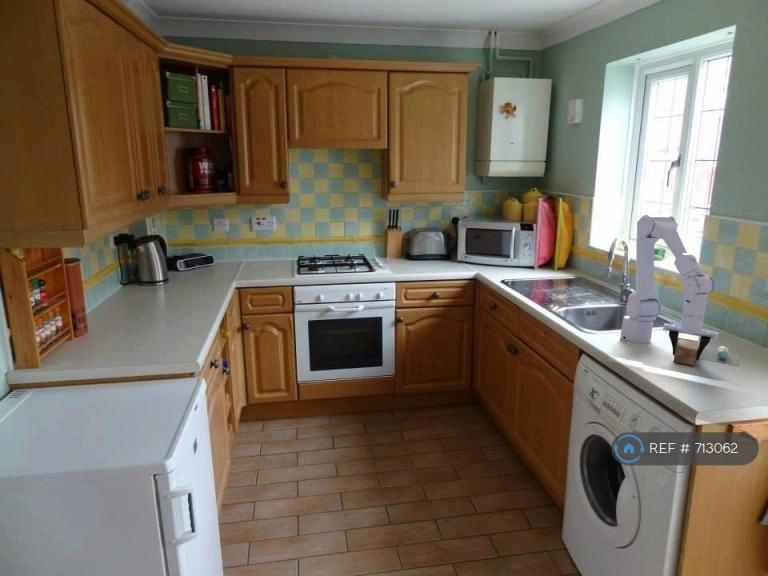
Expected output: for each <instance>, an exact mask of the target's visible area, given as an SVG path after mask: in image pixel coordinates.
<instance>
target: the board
mask: <svg viewBox="0 0 768 576" xmlns="http://www.w3.org/2000/svg"><path fill="white" fill-rule="evenodd" d="M717 352H718V349H717V350H715V349H712V348H711V349H710V348H706V347H705V348H704V350H703V351H702V353H701V355H700V357H699V360H705V361H709V362H715V363H719V364H724V365H730V366H733V367H740V354H739V353H733V352H729V353H728V357H727V358H726V359H720V358H719V357H718V356H717Z"/></svg>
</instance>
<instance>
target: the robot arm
mask: <svg viewBox="0 0 768 576" xmlns="http://www.w3.org/2000/svg"><path fill="white" fill-rule="evenodd" d="M659 240H662V241H664V243H665V244H666V246H667V248H668V249H669V251H670V252H671V253H672V254H673V255H672V256H673V257H674V266H675V268H676V270H677V271H678V273H679V275H680V277H681V278H682V280H683V282H682V285H681V287H682V291H683V299H684V302H683V308H682V315H681V318H680V319H681V320H680V324H676V323H675V324H674V323H667V322H665V323H664V324H663V326H662V327H663V328H662V331H664V332H667V331H668V338H669V340H670V343H671V347H672V356H674V355H675V349H676V345H677V341H678V336H679V333H684V334H690V335H695V336H699V337H700V338H699V343H700V344H699V350H698V353H697V357H696V361H700V359H699V357H700V355H701V353H702V351H703V350H704V348H706V347H707V346H708V345H709V344H710V342H711V339H712V340H715V341H718V339H719V338H718V337H719V331H715V330H714V331H713V330H709V329H706V328H703V324H704V319H705V313H706V307H707V301H708V297H709V295H710V294H711V293H712V292H714V289H715V280H714V278H713V277H712V275H710V274H707V272H704V271H703V270H702V267H701V265H700V264H699V262H698V261H697V257H696V256H694V255H693V254H691V253H688V252H687V249H686V248H685V245H684V243H683V241H682V239H681V236H680V234H679V232H678V223H677V221H676V219H675V217H674V216H673V215H671V214H662V215H661V214H653V215H652V214H651V215H650V214H644V215H642V216H641V217H640V218H639V219H638V221H637V222H636V245H635V246H636V247H635V248H636V253H635V255H636V256H635V258H636V259H635V262H636V263H635V290H634V291H633V292H632V293H630V294H629V295H628V298H627V299H628V300H627V303H626V306H625V307H626V313H627V315H624V316H623V319H622V323H621V330H620V336H619V337H620V339H621V340H626V341H630V342H634V343H639V344H650V343H651V340H652V334H653V328H654V323H655V320H657V317H659V316H660V315H661V312H662V305H661V301H660V295H659V294H658V293H657V292H656V291H655V290H654V288H655V287H654V284H655V283H654V282H655V244H656V243H657V242H658V241H659ZM624 337H625V338H624Z"/></svg>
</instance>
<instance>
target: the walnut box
mask: <svg viewBox="0 0 768 576" xmlns="http://www.w3.org/2000/svg"><path fill="white" fill-rule="evenodd" d="M699 344H700V342H699V341H698V342H693V341H687V340H682V339H679V341H678V343H677V345H676V349H675V355H673V362H674V363H678V364H684V365H688V366H693V367H695V365H696V363H697V362H696V361H697V360H696V357H697V353H698V350H699Z"/></svg>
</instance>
